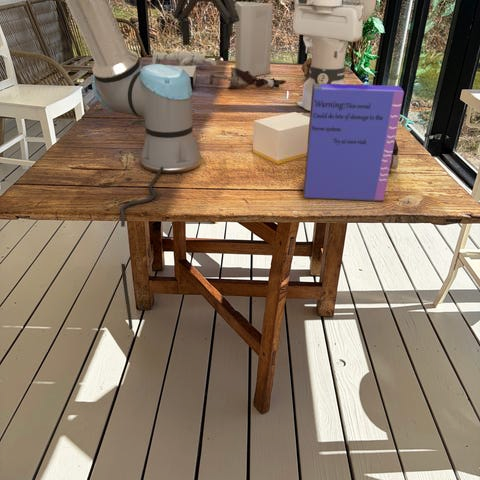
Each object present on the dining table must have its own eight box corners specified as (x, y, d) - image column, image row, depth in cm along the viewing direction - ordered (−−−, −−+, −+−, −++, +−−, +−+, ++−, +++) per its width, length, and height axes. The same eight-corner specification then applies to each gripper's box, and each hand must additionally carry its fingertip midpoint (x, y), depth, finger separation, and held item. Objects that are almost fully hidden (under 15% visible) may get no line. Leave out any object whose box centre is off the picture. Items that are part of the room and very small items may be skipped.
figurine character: (396, 183, 117) (389, 155, 129) (402, 156, 112) (395, 129, 124) (368, 182, 118) (364, 154, 129) (373, 154, 113) (368, 127, 125)
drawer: (316, 133, 142) (318, 110, 138) (338, 142, 136) (341, 118, 132) (266, 146, 132) (267, 121, 129) (288, 156, 126) (290, 130, 122)
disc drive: (148, 89, 187) (147, 76, 185) (156, 76, 207) (155, 64, 204) (193, 90, 188) (193, 77, 185) (196, 77, 207) (196, 65, 204)
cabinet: (292, 142, 138) (294, 111, 134) (317, 152, 131) (320, 121, 127) (252, 152, 131) (253, 120, 126) (277, 163, 124) (278, 130, 119)
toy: (171, 74, 211) (170, 58, 208) (148, 64, 229) (146, 49, 225) (218, 68, 223) (218, 53, 219) (192, 59, 240) (192, 44, 237)
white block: (273, 76, 210) (276, 6, 196) (239, 77, 209) (240, 6, 194) (266, 67, 226) (268, 2, 212) (235, 67, 225) (235, 1, 210)
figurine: (210, 87, 179) (288, 95, 182) (212, 65, 176) (291, 73, 180) (208, 84, 201) (278, 91, 205) (210, 64, 198) (280, 71, 202)
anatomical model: (311, 84, 215) (310, 84, 201) (297, 70, 214) (296, 70, 200) (331, 62, 211) (332, 61, 197) (317, 48, 210) (317, 46, 196)
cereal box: (379, 191, 109) (398, 84, 97) (383, 201, 105) (404, 90, 93) (303, 188, 110) (312, 82, 98) (304, 197, 106) (314, 88, 94)
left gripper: (252, -36, 128) (249, 48, 139) (173, -38, 137) (176, 41, 148) (240, -36, 123) (238, 52, 133) (158, -38, 132) (163, 44, 142)
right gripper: (371, 0, 115) (363, 60, 122) (306, -5, 128) (301, 50, 135) (356, 0, 112) (348, 62, 119) (291, -5, 124) (287, 52, 131)
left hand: (206, 46), depth 141 cm, fingers open, 13 cm apart
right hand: (323, 56), depth 127 cm, fingers open, 8 cm apart
